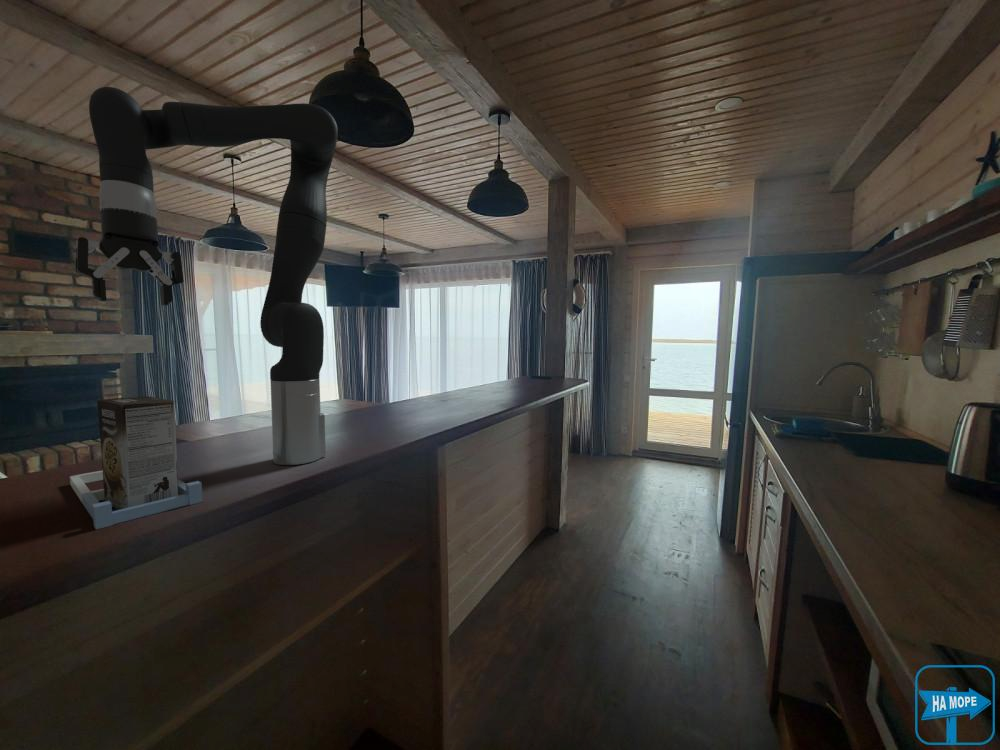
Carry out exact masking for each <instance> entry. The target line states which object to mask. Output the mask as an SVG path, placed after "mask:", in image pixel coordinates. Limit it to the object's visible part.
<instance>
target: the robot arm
mask: <svg viewBox="0 0 1000 750" xmlns="http://www.w3.org/2000/svg"><path fill="white" fill-rule="evenodd" d="M89 98H90V99H89V104H88V110H89V119H90V123H91V127H92V131H93V132H92V133H93V136H94V140H95V142H96V143H95V144H96V147H97V150H98V157H99V159H98V161H99V162H98V163H99V164H98V166H99V167H98V169H99V170H98V171H99V181H100V184H99V185H100V186H99V194H98V195H99V196H98V197H99V198H98V199H99V214H100V227H101V228H100V229H101V240H100V241H96V240H91V239H88V238H86V237H84V236H80V237H78V238H77V239H76V240H75V264H74V265H75V273H77V274H79V275H83V276H86V277H88V278H90V279H91V285H92V287H91V288H92V295H93V297H94V298H95V299H97V298H98V302H107V289H106V286H107V285H106V279H104V276H105V275H106V274H108V272H109V271H111V270H112V269H113V268H114V267H116V268H118V269H119V270H125V271H127V270H133V271H136V272H141V273H144V272H148V273H149V274H150V275H151V276H152V277H153V278H154V279H155V280H157V281H158V282H159V284H160V286H159V293H160V306H166V307H167V306H169V303H170V304H171V303H172V301H173V286H174V285H180V284H182V283H184V272H183V265H182V258H181V253H180V252H178V251H174V252H167V251H162V250H161V249H160V247H159V232H158V231H159V229H158V217H159V215H158V211H157V203H156V198H155V192H154V177H153V175H154V174H153V170H152V169H153V168H152V166H151V163H150V161H149V159H148V158H149V157H148V156H147V150H154V149H155V150H156V149H165V148H172V147H177V146H191V147H195V146H196V147H208V148H209V147H210V148H212V147H213V148H227V147H234V146H239V145H243V144H247V143H252V142H255V141H261V140H267V139H269V140H270V139H273V140H274V139H277V140H278V139H279V140H280V139H281V140H287V141H289V143H290V172H289V180H288V183H287V186H286V188H285V191H284V194H283V197H282V200H281V203H280V207H279V212H278V218H277V223H276V225H277V226H276V234H275V245H274V250H273V251H274V252H273V256H272V257H273V259H272V263H271V264H272V265H271V271H270V272H271V273H270V279H269V283H268V287H267V290H266V295H265V298H264V302H263V305H262V306H263V307H262V310H261V315H260V322H259V323H260V325H259V326H260V331H261V334H262V336H263V338H264V339H265V341H266V342H268V344H270V345H272V346H274V347H277V348H282V350H281V351H282V352H281V358H280V359H279V361H278V362H276V363H275V364H274V365H272V366H271V367H270V371H269V379H270V381H269V382H270V403H271V406H270V407H271V430H272V431H271V432H272V433H271V434H272V435H271V436H272V455H273V456H272V461H273V463H274V464H275V465H280V466H295V465H303V464H309V463H312V462H315V461H318V460H319V459H322V458H325V457H326V456H327V455H326V453H327V450H326V448H327V447H326V416H325V413H324V412H321V390H320V388H321V387H320V385H321V384H320V374H321V373H320V372H321V369H322V367H323V363H324V344H325V343H324V342H325V341H324V339H325V335H324V333H325V331H324V330H325V329H324V322H323V318H322V316H321V313H320V312H319V311H318V309H317V307H315V306H314V305H312V304H309V303H306V302H302V298H303V294H304V293H303V292H304V288H305V286H306V282H307V280H308V278H309V277H310V275H311V273H312V272H313V270H314V269H315V267H316V265H317V263H318V261H319V259H320V258H321V256H322V253H323V251H324V246H325V242H326V232H327V220H328V218H327V217H328V216H327V215H328V209H327V195H326V192H327V190H326V189H327V183H328V178H329V173H330V170H331V166H332V163H333V159H334V156H335V153H336V150H337V149H336V148H337V143H338V134H339V130H338V129H339V128H338V125H337V122H336V119H335V118H334V117H333V115H332V114H331V113H330V112H329V111H328V110H327V109H326V108H324V107H322V106H319V105H317V104H314V103H313V104H312V103H304V102H303V103H288V104H287V103H285V104H271V105H269V104H268V105H248V106H247V105H244V106H241V105H240V106H237V105H236V106H235V105H234V106H233V105H232V106H227V105H216V104H215V105H213V104H202V103H193V102H181V101H165V102H164V103H163V104H162V107H161V108H159V109H143V107H142V106H141V105H140V104H139V102H138V101H137V100H136V99H135V98H134V97H133V96H131V94H129V93H127V92H126V91H124V90H122V89H120V88H116V87H113V86H103V87H102V86H101V87H100V88H97V89H95V90H94V91H93V93H92V94H91V95H90V97H89ZM95 249H98V250H99V251H100V252H101V253H102V254H103V255H104V256H105V257H106V260H105V261H104V262H102V264H101V265H99V266H98V267H97V268H96V269H93V268H90V267H89V254H92V253H93V252H94V251H95ZM161 259H164V260H165V262H166V263H167V264H169V265H170V272H171V273H170V274H171V277H169V276H168V275H167V274H166V272H165V271H164V270H163V268H162V267H161V266H160V265H159V264H158V263H159V261H160V260H161Z"/></svg>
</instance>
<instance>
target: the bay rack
mask: <svg viewBox="0 0 1000 750" xmlns="http://www.w3.org/2000/svg"><path fill="white" fill-rule="evenodd" d="M177 479H178V496H175V497H170V498H166V499H162V500H158V501H154V502H150V503H145V504H141V505H137V506H133V507H129V508H125V509H120V510H118V509H115V510H113V509H112V508H113V507H112V504H111V502H110V501H106V502H105V495H104V488H100V489H95V490H90V488H88V486H87V485H86V484H88V483H94V482H98V481H103V470H97V471H92V472H86V473H81V474H75V475H70V476H69V485H70V487H71V488H72V490H73V491H74V493H75V494H76V496H77V497H78V499H79V501H80V502H81V503H82V505H83V507H84V508H85V509H86V511H87V512H88V514H89V515H90V517H91V518H92V521H93V528H95V530H100V529H103V528H108V527H111V526H113V525H116V524H121V523H124V522H128V521H132V520H136V519H138V518H139V519H140V518H142V517H143V518H144V517H147V516H151V515H154V514H158V513H162V512H166V511H171V510H173V509H177V508H182V507H186V506H191V505H195V504H199V503H203V485H202V482H201V481H199V480H196V481H191V482H188V483H185V482H184V481H183V480H181V479H180V478H178V477H177ZM100 501H102V502H100Z"/></svg>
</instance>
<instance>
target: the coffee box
mask: <svg viewBox="0 0 1000 750" xmlns="http://www.w3.org/2000/svg"><path fill="white" fill-rule="evenodd" d="M96 404H97V415H98V429H99V430H98V431H99V439H100V450H101V451H100V452H101V453H100V454H101V463H102V464H101V469H102V470H103V480H102V481H103V489H104V495H105V500H104V502H106V501H110V502H111V504H112V508H114V509H115V510H120V509H125V508H129V507H133V506H137V505H141V504H145V503H150V502H154V501H158V500H162V499H166V498H170V497H175V496H179V494H178V479H179V478H178V461H177V460H178V458H177V457H178V455H177V438H176V437H177V436H176V435H177V433H176V417H175V416H176V415H175V414H176V413H175V411H176V410H175V400H170V399H166V398H161V397H160V398H159V397H154V396H139V397H138V396H137V397H133V396H131V397H117V398H116V397H115V398H105V399H97V400H96ZM102 470H101V471H102ZM177 478H178V479H177Z"/></svg>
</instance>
